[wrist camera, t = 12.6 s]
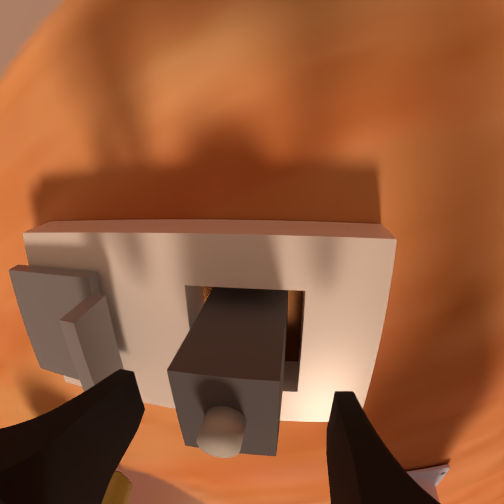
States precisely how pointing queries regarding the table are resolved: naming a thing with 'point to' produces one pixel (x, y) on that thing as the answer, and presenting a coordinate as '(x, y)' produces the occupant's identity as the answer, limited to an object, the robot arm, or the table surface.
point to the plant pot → (118, 490)
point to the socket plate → (235, 276)
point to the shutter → (67, 322)
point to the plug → (232, 373)
